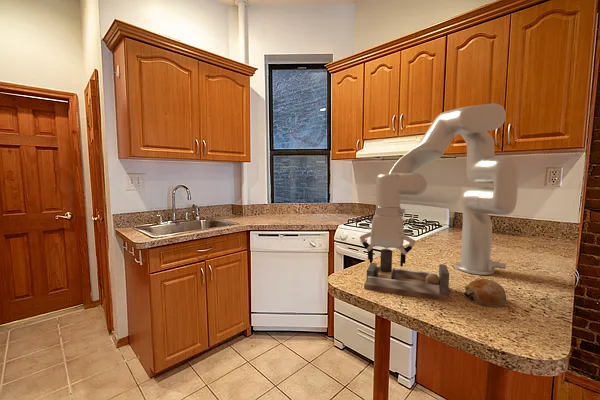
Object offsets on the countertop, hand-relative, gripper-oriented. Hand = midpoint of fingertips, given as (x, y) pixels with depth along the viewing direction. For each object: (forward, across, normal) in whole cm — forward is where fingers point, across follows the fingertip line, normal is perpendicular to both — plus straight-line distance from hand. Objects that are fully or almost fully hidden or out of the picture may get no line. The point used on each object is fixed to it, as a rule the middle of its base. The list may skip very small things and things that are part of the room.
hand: (386, 263), depth 93 cm
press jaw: (+5, 0, 0) cm, 5 cm away
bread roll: (+7, -28, +1) cm, 29 cm away
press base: (+7, -6, 0) cm, 9 cm away
